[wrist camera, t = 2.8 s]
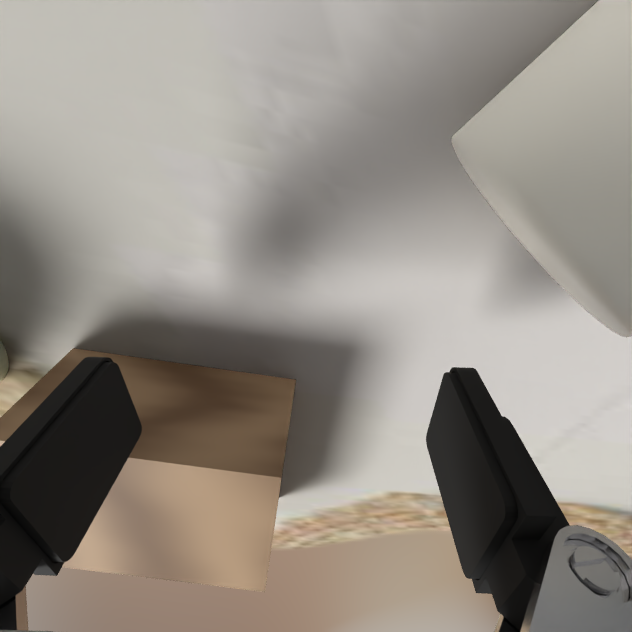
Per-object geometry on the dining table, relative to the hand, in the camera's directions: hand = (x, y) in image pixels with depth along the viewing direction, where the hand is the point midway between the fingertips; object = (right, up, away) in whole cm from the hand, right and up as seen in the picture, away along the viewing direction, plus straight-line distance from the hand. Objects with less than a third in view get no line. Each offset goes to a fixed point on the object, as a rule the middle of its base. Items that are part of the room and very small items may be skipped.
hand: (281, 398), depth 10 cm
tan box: (-6, -4, +8) cm, 11 cm away
